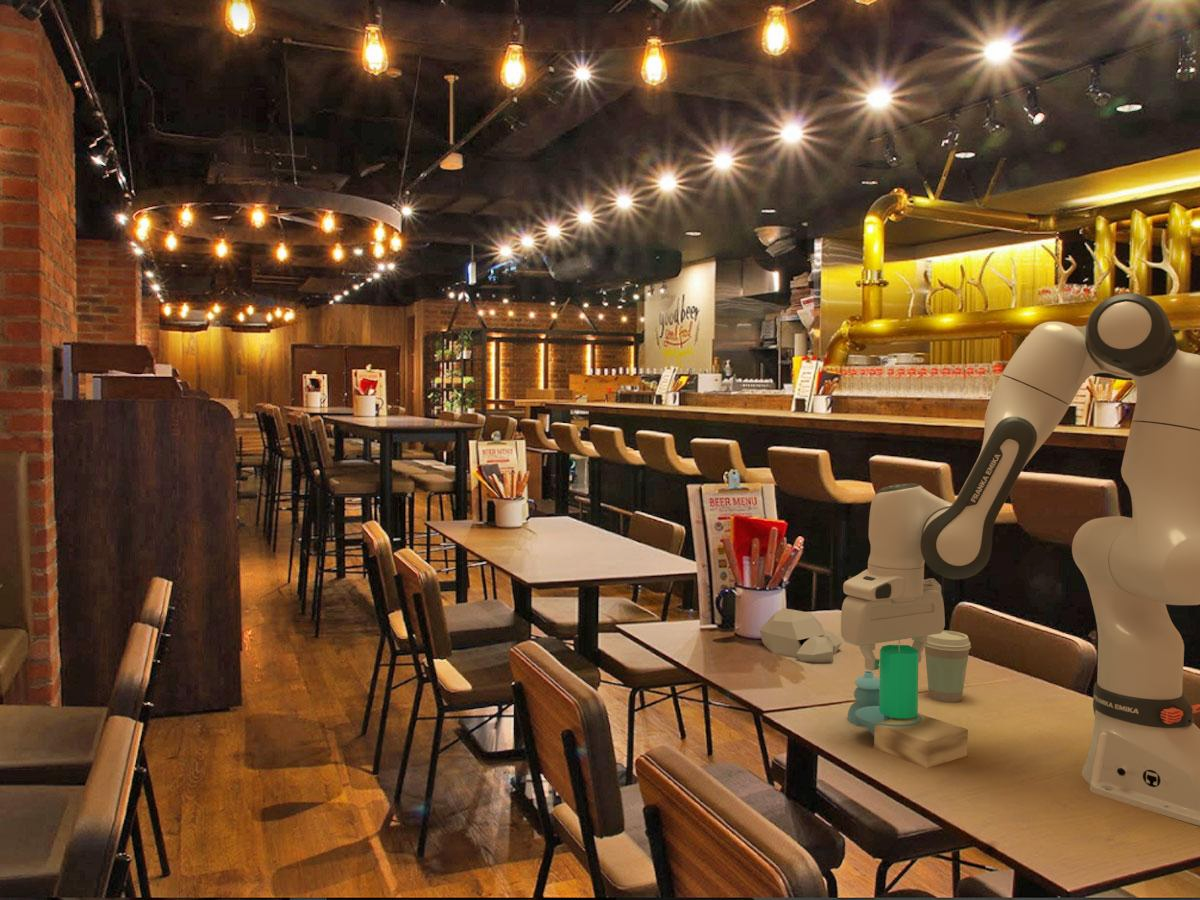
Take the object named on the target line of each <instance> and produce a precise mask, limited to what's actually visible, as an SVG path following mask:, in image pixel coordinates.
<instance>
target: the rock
mask: <svg viewBox="0 0 1200 900" xmlns="http://www.w3.org/2000/svg"><path fill="white" fill-rule="evenodd" d="M823 628H824V627H823V625H822V623H821V622H820V621H819V620H818V619H817V618H816V617H815V615H814V614H813V613H811V612H807V611H803V610H796V609H791V608H785V607H784V608H781V609H779V610H778V611H776V612H774V614H773V615H772V616H771V617H770V618H769V619H767V621H766V622H765V623H764V624H763V625H762V626H761V627H760V628H759V630H758V631H759V634H760V638H761V640H762V641H761V642H762V645H763V644H764V645H763V646H764V647H766V649H767V650H769V651H770V652H771V653H772V654H777V655H782V656H785V657H792V658H798V660H799V662H804V663H816V664H821V663H827V664H828V663H834V655H835V654H837V652H838V651H839V649H840V647H841V646H842V644H843V641H842V640H841V639H839V637H837V635H835V633H833V632H831V631H829V630H825V629H823ZM801 644H802V645H801Z"/></svg>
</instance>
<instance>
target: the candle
mask: <svg viewBox="0 0 1200 900" xmlns="http://www.w3.org/2000/svg"><path fill="white" fill-rule="evenodd" d="M900 641H901V640H898V644H887V645H882V647H881V648H880V649H879V680H880V688H879V689H880V695H879V711H880V713H881V714H883V715H885V716H888V717H894V718H912V717H916V716H917V715H918V713H919V711H918V710H919V663H918V651H917V650H916V649H915V648H913V647H912V645H909V644H902V645H901V643H900Z"/></svg>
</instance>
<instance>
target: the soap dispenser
mask: <svg viewBox="0 0 1200 900" xmlns="http://www.w3.org/2000/svg"><path fill="white" fill-rule="evenodd" d="M854 684H855V686H856V688H855V689H854V692H853V697H854V698H855V700H856V701H854V702H853V703H852V704H851V705H850V706H849V709H848V711H847V721H848V722H849V723H850V724H853V725H855V726H859V727H862V728H863V727H864V728H866V729H867V731H868V732H870V734H872V736H873V737H874V730H875V725H884V726H909V725H913V724H916V723H918V722H919V721H920V720H921V717H920V716H919V715H917V716H916V717H915V721H913V722H910V723H906V724H883V723H878V722H882V721H885V720H889V719H892V718H894V717H888V716H885V715H883V714H881V713H880V711H879V695H880V678H878V677H876V676H874V672H873V670H872V671H870V670H864V672H863V675H861V676H859V677H857V678H856V679H855V682H854Z"/></svg>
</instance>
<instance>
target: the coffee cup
mask: <svg viewBox="0 0 1200 900" xmlns="http://www.w3.org/2000/svg"><path fill="white" fill-rule="evenodd" d="M971 648H972V646H971V641H970V639H969V636H968V635H967V634H965V633H963V632H959V631H953V630H945V629H943V631H942V633H940V634H934V635H928V636H927V643H926V645H925V647H924V653H925V664H926V665H925V666H926V674H927V675H926V676H927V677H926V678H927V686H928V687H927V688H928V696H929V698H930V699H932V700H935V701H938V702H943V703H958V702H960V701H962V699H963V694H964V693H963V692H964V687H965V680H966V674H967V666H968V660H969V654H970V649H971Z"/></svg>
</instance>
